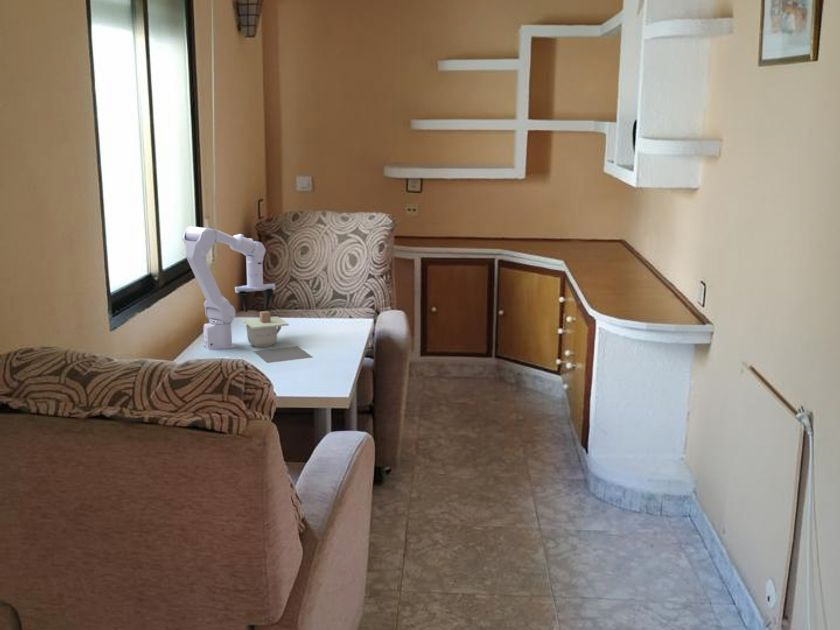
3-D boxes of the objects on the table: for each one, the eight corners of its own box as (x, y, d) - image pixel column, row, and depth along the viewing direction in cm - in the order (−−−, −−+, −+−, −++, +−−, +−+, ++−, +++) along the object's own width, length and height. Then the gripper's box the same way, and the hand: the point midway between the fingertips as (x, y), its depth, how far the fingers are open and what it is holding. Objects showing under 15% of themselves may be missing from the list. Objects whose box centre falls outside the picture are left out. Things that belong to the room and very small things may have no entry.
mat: (267, 363, 278) (267, 362, 278) (253, 352, 292) (253, 351, 292) (313, 358, 285) (313, 357, 285) (297, 347, 299) (297, 346, 299)
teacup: (256, 351, 294) (255, 328, 292) (241, 344, 302) (240, 323, 300) (290, 344, 303) (290, 323, 301) (275, 338, 311) (274, 317, 309)
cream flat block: (252, 329, 292) (252, 317, 291) (242, 321, 303) (241, 310, 302) (288, 325, 298) (288, 314, 297) (277, 317, 309) (276, 306, 308)
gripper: (237, 277, 300) (239, 314, 303) (277, 274, 307) (278, 310, 310) (232, 274, 306) (234, 310, 310) (271, 271, 313) (272, 306, 316)
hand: (256, 310), depth 310 cm, fingers open, 7 cm apart
